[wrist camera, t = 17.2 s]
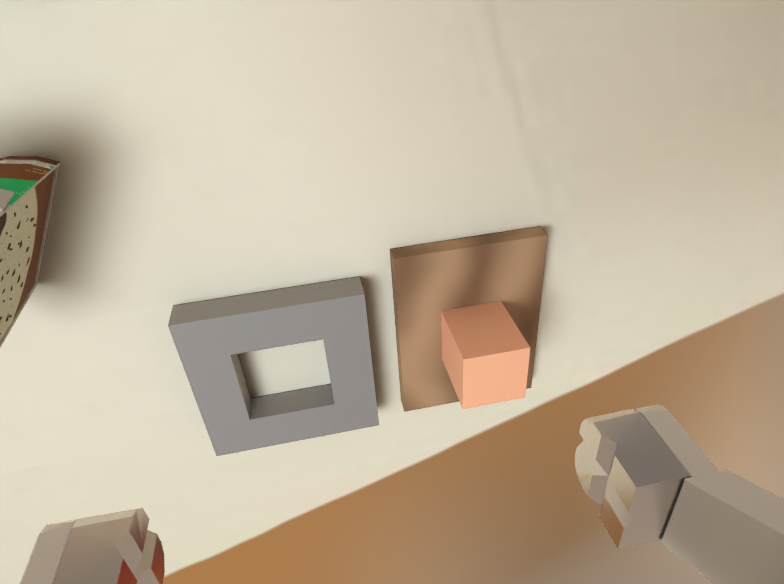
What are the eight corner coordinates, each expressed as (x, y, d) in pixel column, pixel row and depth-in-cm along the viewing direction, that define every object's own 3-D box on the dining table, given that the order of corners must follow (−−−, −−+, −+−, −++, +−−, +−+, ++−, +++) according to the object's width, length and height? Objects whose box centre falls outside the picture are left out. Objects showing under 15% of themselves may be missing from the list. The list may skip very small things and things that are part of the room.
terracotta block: (501, 301, 44) (530, 347, 39) (498, 348, 47) (525, 397, 42) (441, 311, 44) (463, 359, 39) (441, 358, 46) (462, 409, 41)
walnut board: (539, 226, 43) (548, 235, 42) (524, 376, 52) (530, 387, 51) (389, 249, 41) (393, 258, 40) (401, 399, 50) (404, 411, 49)
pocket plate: (359, 276, 42) (364, 294, 40) (374, 404, 50) (379, 425, 48) (173, 305, 40) (168, 325, 38) (218, 433, 48) (216, 456, 46)
